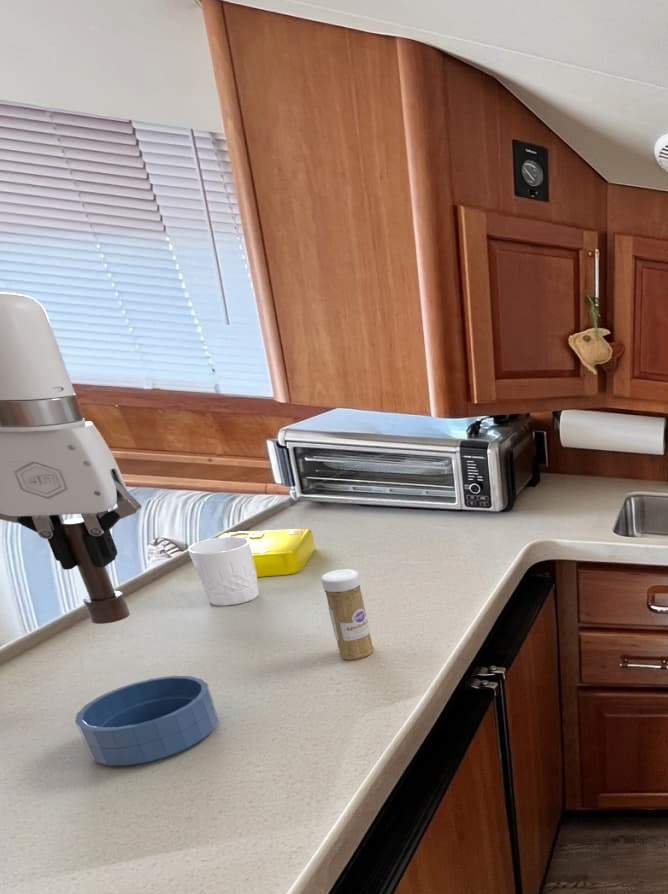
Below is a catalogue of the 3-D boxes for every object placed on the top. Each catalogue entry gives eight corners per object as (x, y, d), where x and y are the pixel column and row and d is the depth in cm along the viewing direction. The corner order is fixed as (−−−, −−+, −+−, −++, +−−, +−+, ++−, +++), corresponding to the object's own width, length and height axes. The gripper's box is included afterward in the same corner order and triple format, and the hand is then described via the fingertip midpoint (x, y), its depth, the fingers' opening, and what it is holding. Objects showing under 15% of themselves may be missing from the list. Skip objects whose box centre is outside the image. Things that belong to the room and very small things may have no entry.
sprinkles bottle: (363, 661, 96) (346, 581, 91) (332, 660, 96) (313, 579, 91) (380, 646, 100) (365, 569, 95) (350, 645, 100) (333, 567, 95)
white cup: (239, 585, 115) (224, 534, 111) (275, 592, 114) (261, 540, 110) (192, 603, 108) (174, 549, 104) (230, 610, 107) (214, 556, 103)
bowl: (71, 778, 71) (52, 738, 69) (120, 720, 80) (105, 683, 78) (200, 758, 75) (186, 719, 73) (232, 705, 85) (221, 669, 82)
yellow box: (198, 582, 115) (191, 558, 113) (227, 552, 128) (221, 530, 126) (300, 574, 121) (294, 551, 119) (318, 546, 134) (313, 525, 132)
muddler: (85, 625, 78) (45, 526, 73) (100, 613, 81) (62, 517, 76) (122, 622, 80) (85, 524, 75) (135, 610, 82) (100, 515, 77)
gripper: (-101, 418, 64) (-24, 583, 71) (111, 419, 70) (162, 570, 78) (-48, 405, 70) (18, 558, 77) (142, 407, 77) (187, 548, 84)
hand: (90, 563), depth 77 cm, fingers closed on muddler, 2 cm apart
